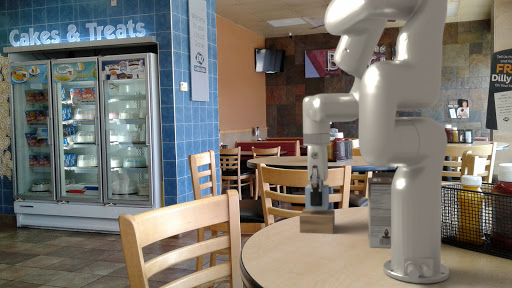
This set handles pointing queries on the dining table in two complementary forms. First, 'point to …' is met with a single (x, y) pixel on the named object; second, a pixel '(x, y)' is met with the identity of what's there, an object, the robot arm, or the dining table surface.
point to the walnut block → (317, 221)
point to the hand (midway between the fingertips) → (317, 203)
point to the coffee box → (379, 211)
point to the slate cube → (324, 198)
